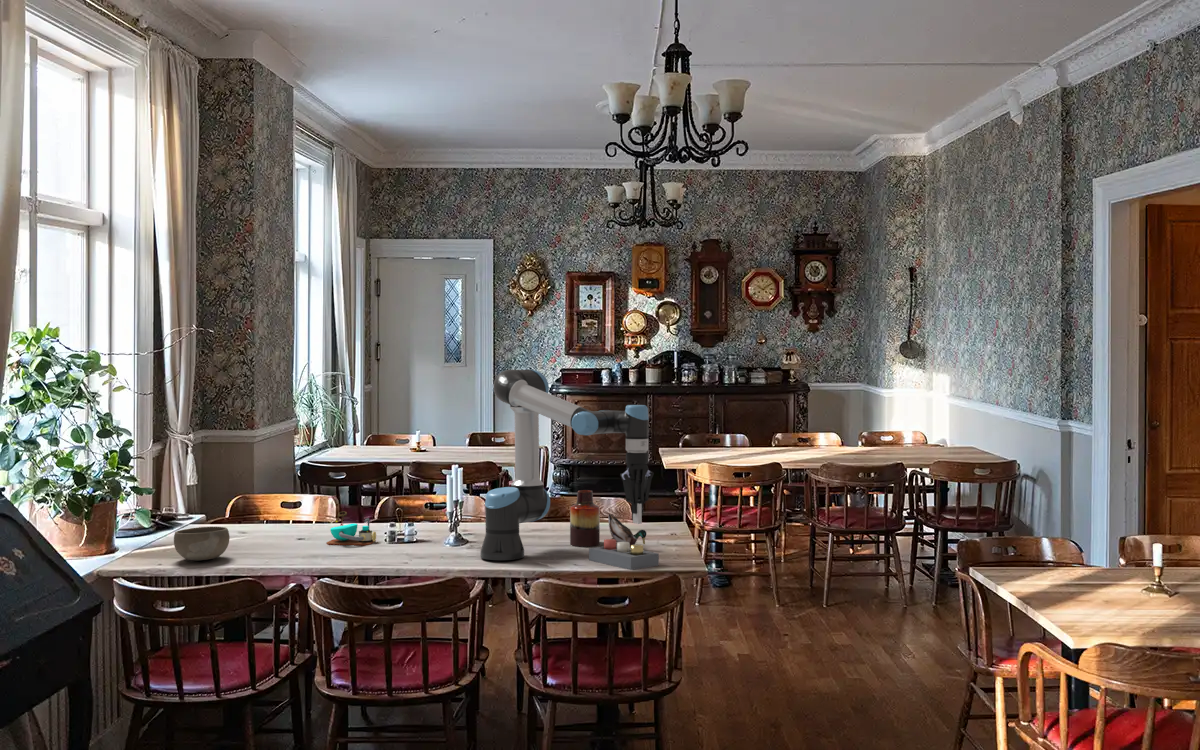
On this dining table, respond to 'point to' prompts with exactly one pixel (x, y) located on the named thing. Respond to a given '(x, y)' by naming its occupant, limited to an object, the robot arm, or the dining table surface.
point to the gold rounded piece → (636, 550)
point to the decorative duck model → (623, 532)
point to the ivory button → (623, 547)
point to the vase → (584, 521)
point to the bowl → (201, 542)
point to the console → (623, 558)
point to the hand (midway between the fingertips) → (637, 523)
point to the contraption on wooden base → (351, 534)
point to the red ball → (609, 544)
